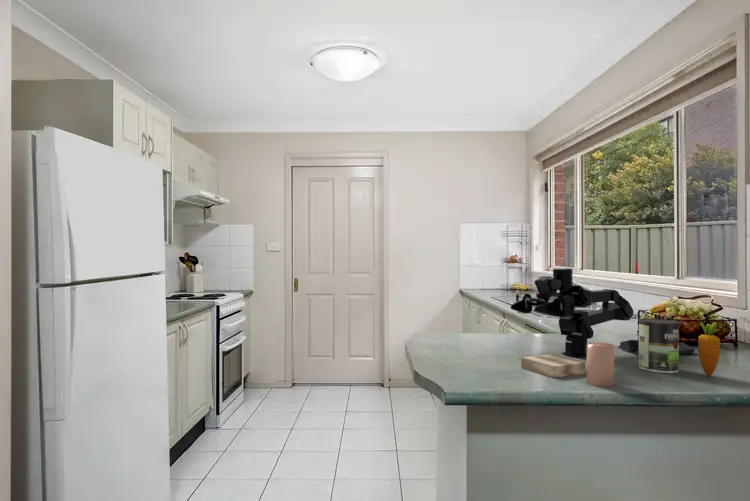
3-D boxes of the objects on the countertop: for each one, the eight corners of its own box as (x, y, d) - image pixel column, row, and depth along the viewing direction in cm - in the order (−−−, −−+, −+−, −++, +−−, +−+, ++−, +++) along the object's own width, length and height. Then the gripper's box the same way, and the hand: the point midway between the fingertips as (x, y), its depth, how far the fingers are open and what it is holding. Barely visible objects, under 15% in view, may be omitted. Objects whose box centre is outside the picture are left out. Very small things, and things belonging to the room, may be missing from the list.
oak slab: (551, 364, 145) (552, 354, 145) (584, 373, 134) (585, 362, 134) (521, 367, 139) (521, 357, 139) (552, 377, 129) (553, 366, 129)
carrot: (693, 374, 134) (693, 320, 134) (710, 374, 135) (710, 320, 135) (707, 378, 129) (707, 323, 129) (724, 378, 130) (725, 323, 130)
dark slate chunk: (702, 358, 158) (702, 343, 158) (634, 357, 158) (634, 342, 158) (674, 348, 173) (674, 335, 173) (612, 347, 174) (612, 334, 174)
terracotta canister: (598, 379, 128) (598, 341, 128) (619, 385, 122) (620, 346, 122) (580, 381, 125) (581, 343, 125) (602, 388, 119) (602, 347, 119)
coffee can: (687, 371, 138) (687, 322, 138) (665, 375, 133) (665, 324, 133) (651, 363, 147) (652, 317, 147) (630, 367, 142) (630, 319, 142)
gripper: (532, 275, 160) (497, 280, 152) (581, 276, 144) (545, 282, 136) (534, 309, 160) (500, 315, 152) (584, 313, 144) (548, 321, 136)
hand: (522, 308), depth 144 cm, fingers open, 9 cm apart
